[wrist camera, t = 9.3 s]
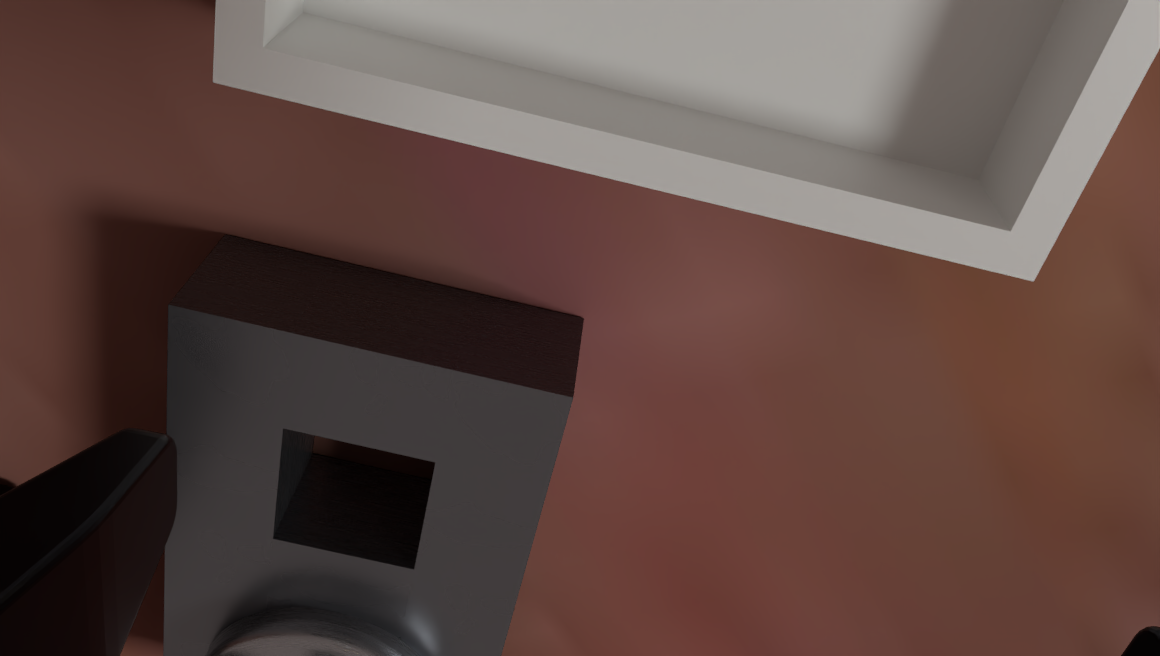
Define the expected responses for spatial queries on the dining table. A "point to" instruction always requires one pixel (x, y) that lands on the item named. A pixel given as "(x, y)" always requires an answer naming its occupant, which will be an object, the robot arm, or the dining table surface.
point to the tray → (745, 99)
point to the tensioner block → (344, 489)
